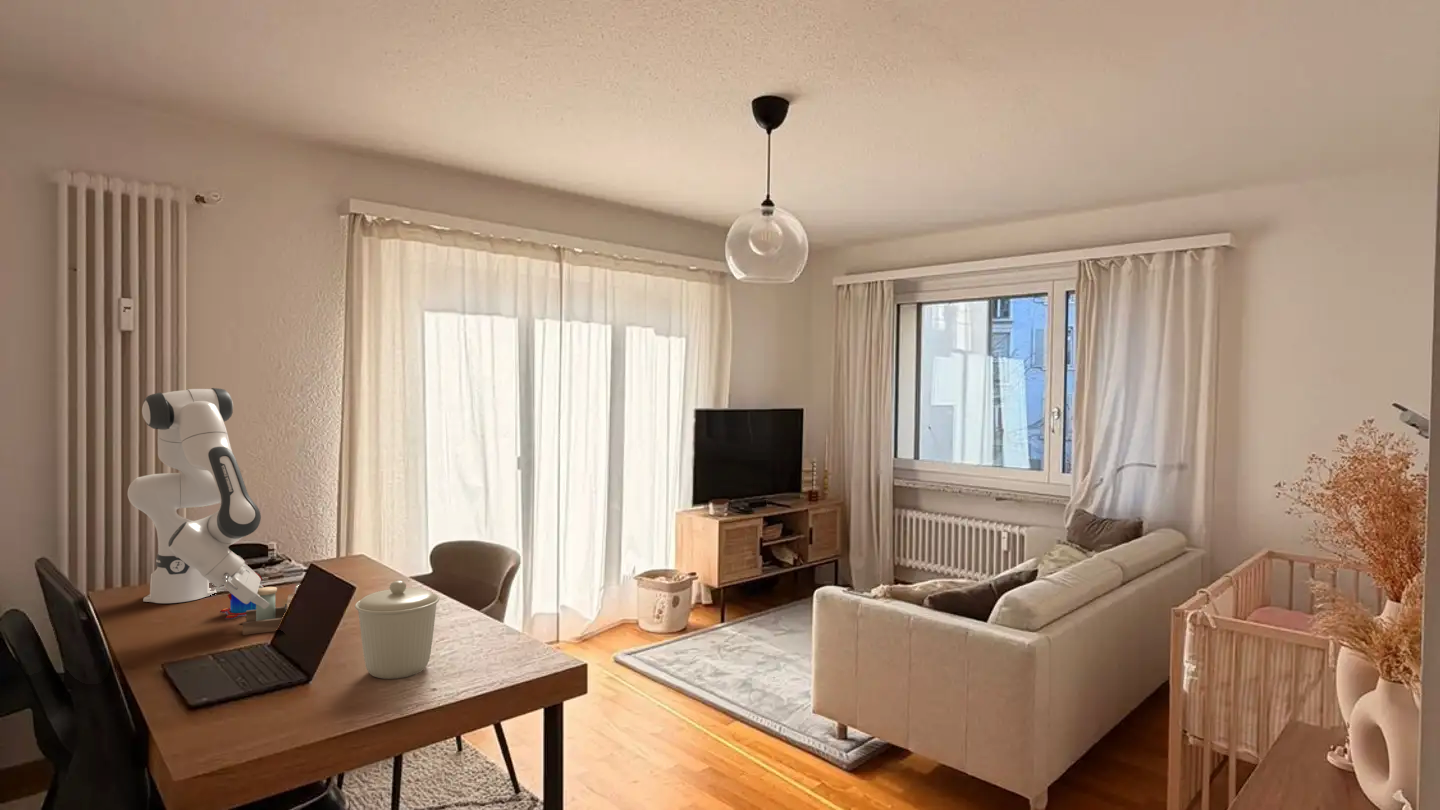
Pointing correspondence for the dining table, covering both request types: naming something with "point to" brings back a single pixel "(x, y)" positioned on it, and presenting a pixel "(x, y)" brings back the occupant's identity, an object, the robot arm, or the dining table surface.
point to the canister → (397, 630)
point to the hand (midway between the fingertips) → (268, 602)
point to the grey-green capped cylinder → (269, 595)
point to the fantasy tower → (238, 606)
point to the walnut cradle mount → (264, 625)
